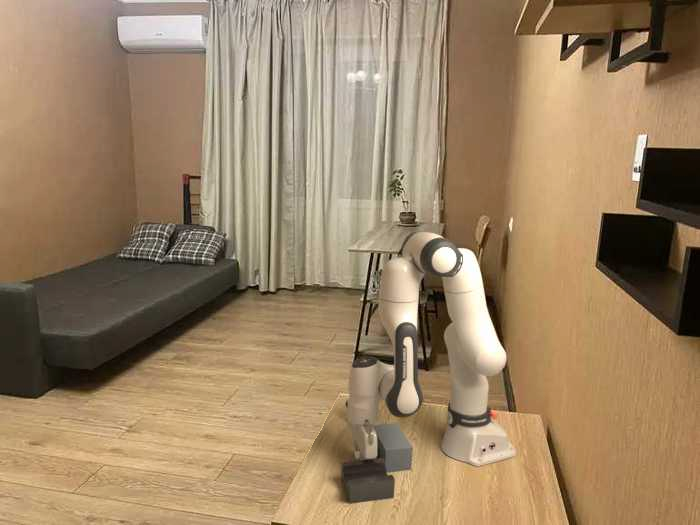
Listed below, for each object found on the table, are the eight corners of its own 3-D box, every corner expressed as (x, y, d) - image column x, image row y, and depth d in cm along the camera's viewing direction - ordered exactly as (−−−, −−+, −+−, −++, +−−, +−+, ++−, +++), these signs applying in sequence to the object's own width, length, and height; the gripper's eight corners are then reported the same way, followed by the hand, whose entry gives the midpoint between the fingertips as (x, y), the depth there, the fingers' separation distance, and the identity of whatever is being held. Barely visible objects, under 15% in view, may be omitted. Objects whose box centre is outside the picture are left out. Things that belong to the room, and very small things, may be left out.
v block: (382, 475, 147) (383, 457, 146) (393, 497, 138) (394, 479, 137) (340, 480, 144) (341, 462, 143) (349, 503, 135) (350, 484, 134)
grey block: (395, 443, 164) (396, 422, 162) (411, 469, 150) (412, 447, 149) (370, 445, 162) (371, 425, 160) (384, 472, 148) (385, 450, 147)
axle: (391, 454, 158) (392, 445, 157) (395, 459, 155) (395, 450, 154) (353, 458, 155) (353, 449, 154) (355, 464, 152) (356, 454, 151)
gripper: (384, 429, 142) (381, 475, 144) (364, 395, 161) (362, 436, 164) (361, 432, 140) (359, 478, 143) (344, 397, 159) (342, 438, 162)
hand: (360, 455), depth 153 cm, fingers closed on axle, 3 cm apart
